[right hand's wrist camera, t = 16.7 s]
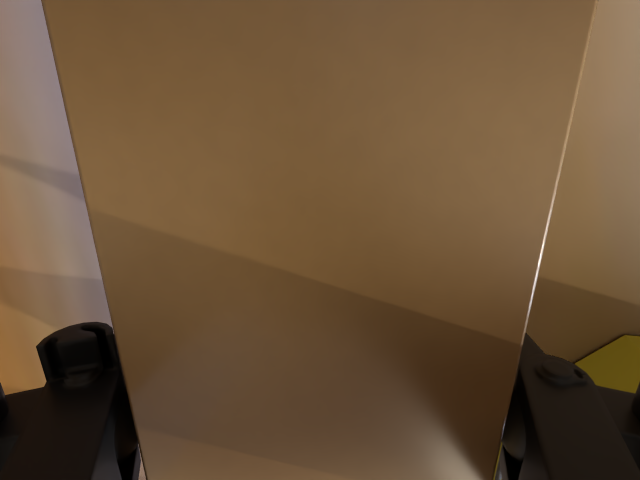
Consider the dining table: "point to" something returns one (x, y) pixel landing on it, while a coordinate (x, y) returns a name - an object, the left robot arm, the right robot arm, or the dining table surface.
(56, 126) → the dining table surface
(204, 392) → the box
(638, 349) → the crown
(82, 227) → the dining table surface
